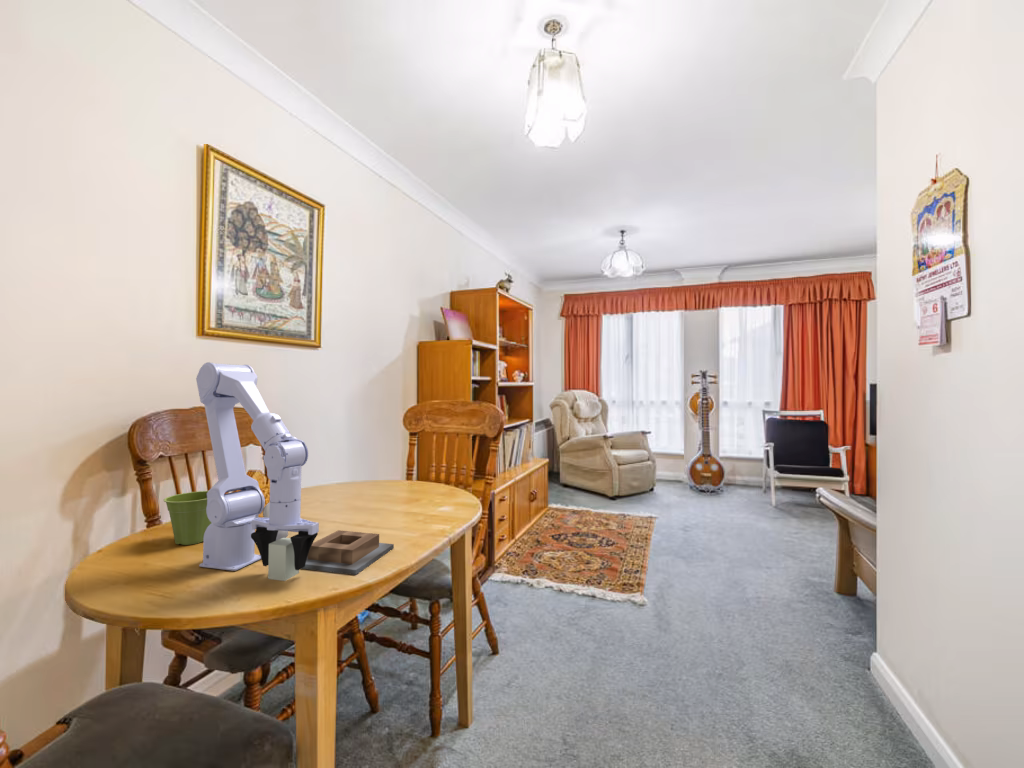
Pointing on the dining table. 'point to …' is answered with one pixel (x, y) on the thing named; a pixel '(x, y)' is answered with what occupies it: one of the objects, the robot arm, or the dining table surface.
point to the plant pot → (188, 516)
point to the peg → (281, 560)
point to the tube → (280, 533)
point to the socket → (346, 552)
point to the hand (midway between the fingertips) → (284, 566)
